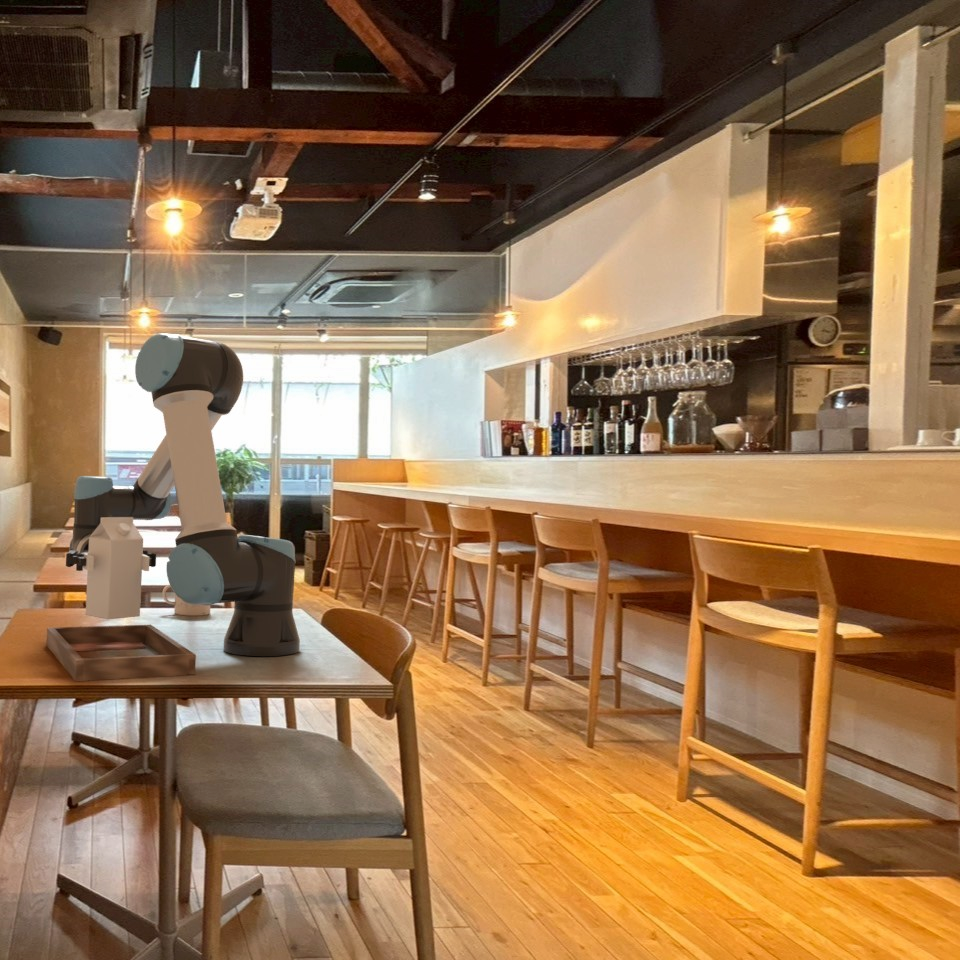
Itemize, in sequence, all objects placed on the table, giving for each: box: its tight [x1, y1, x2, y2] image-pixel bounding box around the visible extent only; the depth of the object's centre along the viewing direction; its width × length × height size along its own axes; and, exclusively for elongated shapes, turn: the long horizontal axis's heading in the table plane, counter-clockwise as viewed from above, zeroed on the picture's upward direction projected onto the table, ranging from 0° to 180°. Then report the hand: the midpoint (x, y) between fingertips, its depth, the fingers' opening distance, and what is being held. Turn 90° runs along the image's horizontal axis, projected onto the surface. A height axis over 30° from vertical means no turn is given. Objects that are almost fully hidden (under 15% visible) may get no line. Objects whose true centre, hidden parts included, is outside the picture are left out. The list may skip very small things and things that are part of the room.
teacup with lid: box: [161, 584, 211, 617], centre depth 255 cm, size 12×9×12 cm
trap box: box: [46, 624, 197, 682], centre depth 193 cm, size 20×36×4 cm, turn 30°
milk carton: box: [85, 517, 144, 620], centre depth 196 cm, size 7×7×19 cm
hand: (119, 563), depth 193 cm, fingers closed on milk carton, 9 cm apart
